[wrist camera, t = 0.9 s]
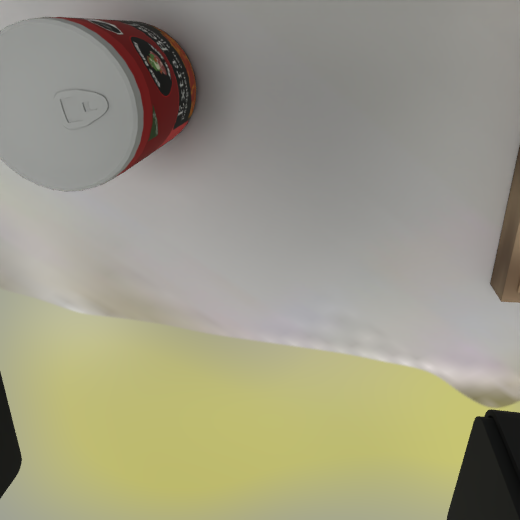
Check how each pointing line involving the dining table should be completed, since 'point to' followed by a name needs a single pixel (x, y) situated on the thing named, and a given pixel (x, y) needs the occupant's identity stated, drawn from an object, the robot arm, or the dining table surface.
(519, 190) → the oak board
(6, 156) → the canned food
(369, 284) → the dining table surface
